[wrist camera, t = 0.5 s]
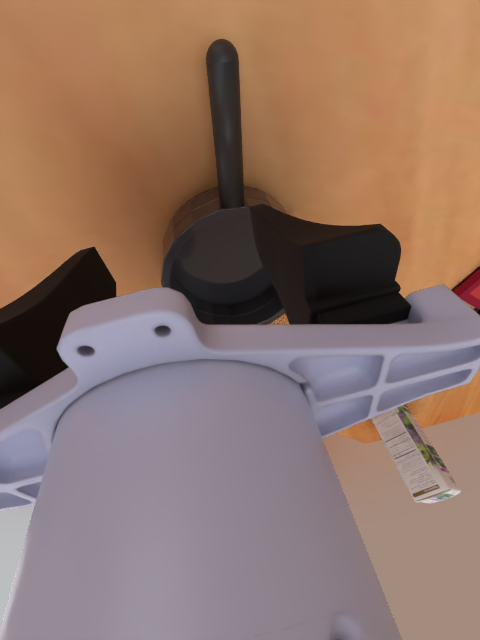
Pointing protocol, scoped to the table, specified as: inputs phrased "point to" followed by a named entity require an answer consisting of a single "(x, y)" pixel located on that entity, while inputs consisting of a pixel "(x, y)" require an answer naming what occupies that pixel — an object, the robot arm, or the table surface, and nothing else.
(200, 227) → the pan
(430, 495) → the syrup box
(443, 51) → the table surface
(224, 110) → the pan handle
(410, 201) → the table surface
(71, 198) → the table surface
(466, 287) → the red board with handle
